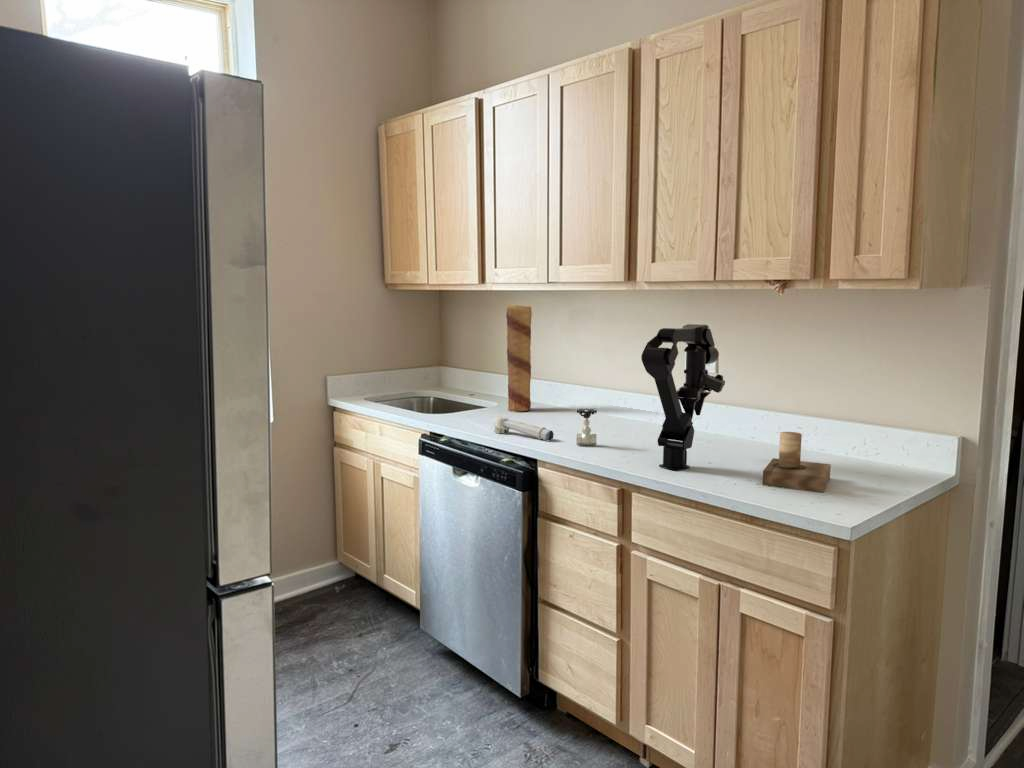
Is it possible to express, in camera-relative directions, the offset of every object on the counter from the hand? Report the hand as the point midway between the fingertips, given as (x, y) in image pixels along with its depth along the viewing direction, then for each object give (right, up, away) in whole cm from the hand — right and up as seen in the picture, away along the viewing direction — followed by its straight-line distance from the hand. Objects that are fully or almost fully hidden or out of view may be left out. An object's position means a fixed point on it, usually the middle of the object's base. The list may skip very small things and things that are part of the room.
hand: (694, 417), depth 218 cm
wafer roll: (-52, -1, +93) cm, 107 cm away
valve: (-30, -11, +22) cm, 39 cm away
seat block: (+22, -16, -24) cm, 36 cm away
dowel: (+20, -16, -23) cm, 34 cm away
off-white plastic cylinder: (-52, -9, +38) cm, 65 cm away
